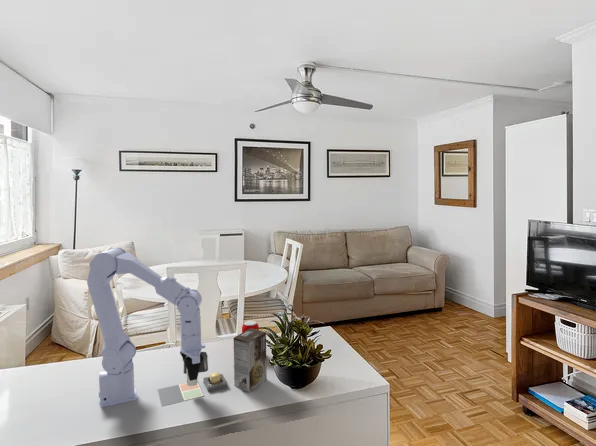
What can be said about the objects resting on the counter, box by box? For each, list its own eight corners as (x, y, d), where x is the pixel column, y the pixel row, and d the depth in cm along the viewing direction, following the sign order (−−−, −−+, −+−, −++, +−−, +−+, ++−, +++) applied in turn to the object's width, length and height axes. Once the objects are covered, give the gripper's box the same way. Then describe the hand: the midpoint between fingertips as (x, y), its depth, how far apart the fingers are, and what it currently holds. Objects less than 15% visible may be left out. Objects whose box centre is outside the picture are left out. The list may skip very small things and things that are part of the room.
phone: (206, 351, 144) (207, 370, 129) (206, 354, 144) (207, 373, 129) (184, 353, 142) (183, 373, 127) (184, 356, 142) (183, 376, 127)
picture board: (161, 408, 109) (161, 406, 109) (157, 390, 118) (157, 389, 118) (204, 397, 114) (204, 395, 114) (197, 382, 123) (197, 380, 123)
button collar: (208, 393, 117) (207, 387, 116) (203, 383, 122) (203, 377, 122) (227, 388, 119) (227, 382, 119) (222, 379, 125) (222, 373, 124)
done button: (211, 386, 118) (211, 378, 118) (208, 381, 121) (208, 373, 121) (221, 383, 120) (221, 376, 119) (219, 379, 123) (218, 371, 122)
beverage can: (238, 354, 143) (238, 323, 142) (251, 348, 148) (250, 318, 146) (250, 359, 139) (249, 327, 138) (262, 353, 144) (262, 322, 143)
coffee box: (251, 374, 128) (250, 327, 126) (267, 379, 125) (267, 331, 123) (233, 387, 120) (232, 337, 119) (249, 392, 117) (249, 341, 115)
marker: (187, 387, 113) (186, 360, 112) (185, 382, 115) (184, 355, 115) (198, 384, 114) (198, 358, 113) (196, 379, 117) (195, 353, 116)
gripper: (210, 339, 108) (211, 385, 110) (199, 322, 121) (200, 363, 123) (184, 343, 105) (186, 390, 107) (176, 325, 118) (177, 368, 120)
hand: (192, 376), depth 114 cm, fingers closed on marker, 3 cm apart
